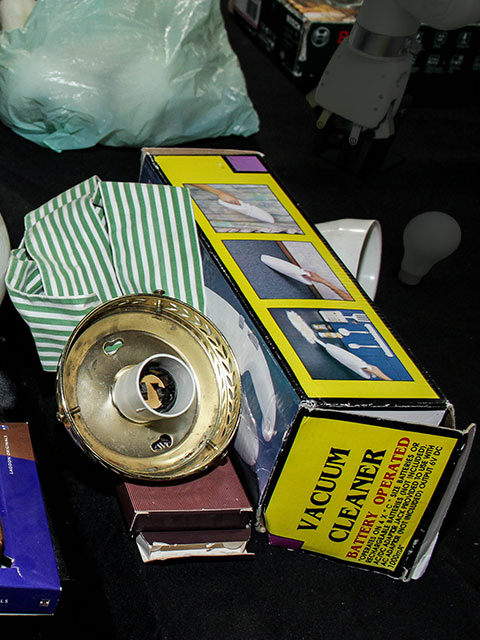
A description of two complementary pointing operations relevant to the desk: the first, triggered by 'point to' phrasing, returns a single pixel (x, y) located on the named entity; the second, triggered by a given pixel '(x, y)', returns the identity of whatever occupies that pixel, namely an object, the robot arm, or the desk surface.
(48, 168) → the desk surface
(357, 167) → the switch bracket
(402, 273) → the lightbulb
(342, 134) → the switch lever
